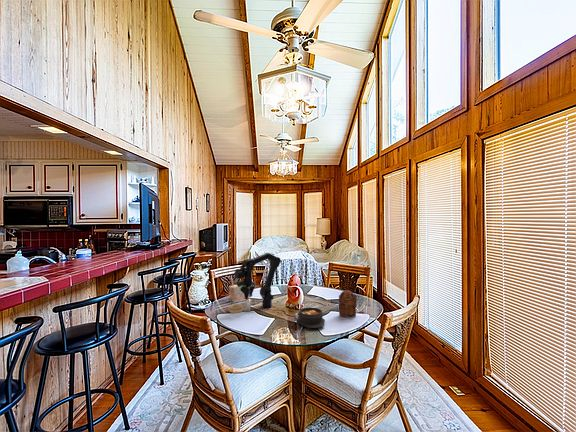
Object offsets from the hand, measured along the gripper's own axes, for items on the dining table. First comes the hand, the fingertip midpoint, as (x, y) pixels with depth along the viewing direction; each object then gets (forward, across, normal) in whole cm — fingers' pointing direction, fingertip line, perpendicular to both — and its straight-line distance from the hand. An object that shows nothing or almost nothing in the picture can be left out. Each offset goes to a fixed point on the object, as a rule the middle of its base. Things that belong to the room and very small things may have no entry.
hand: (248, 297), depth 228 cm
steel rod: (+10, 0, 0) cm, 10 cm away
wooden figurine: (+10, -1, +72) cm, 73 cm away
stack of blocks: (+10, -31, -17) cm, 37 cm away
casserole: (+10, +17, +48) cm, 52 cm away
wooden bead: (+10, 0, -10) cm, 14 cm away
